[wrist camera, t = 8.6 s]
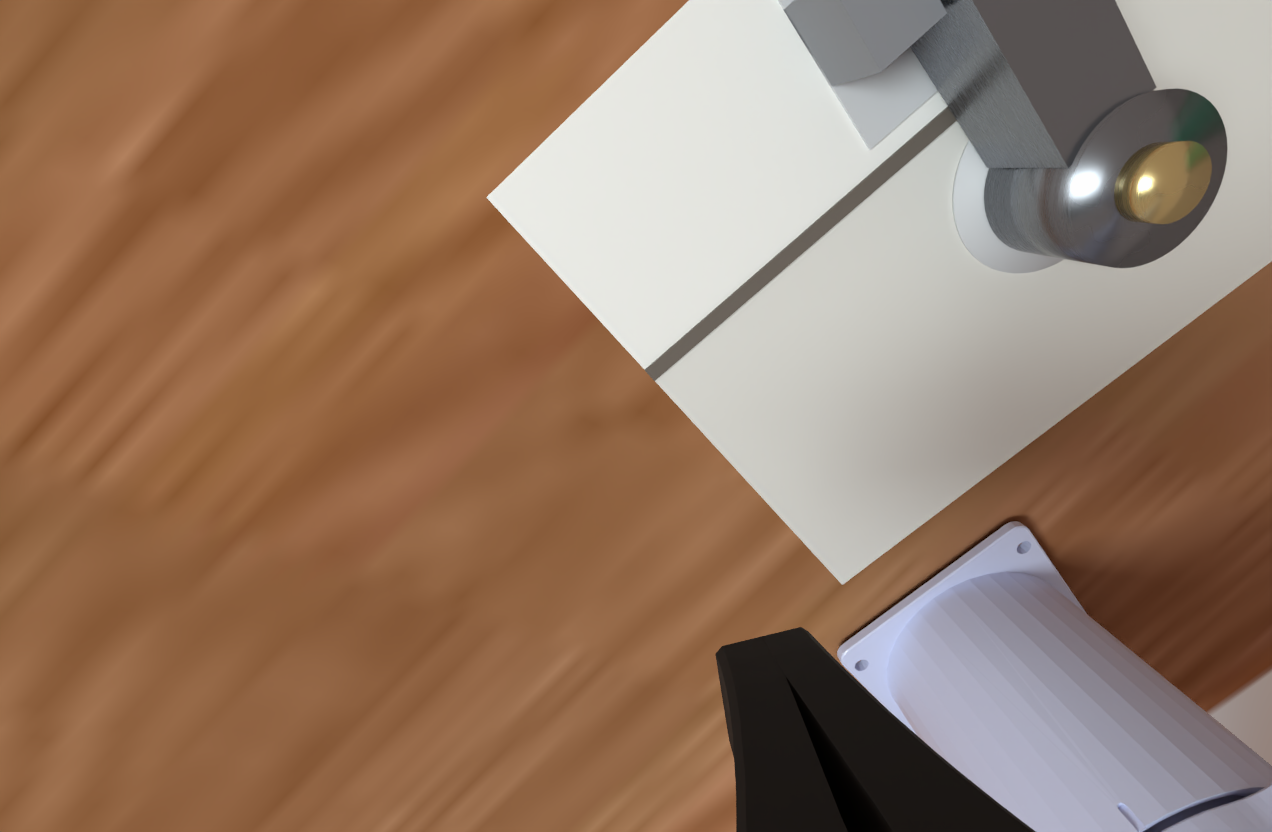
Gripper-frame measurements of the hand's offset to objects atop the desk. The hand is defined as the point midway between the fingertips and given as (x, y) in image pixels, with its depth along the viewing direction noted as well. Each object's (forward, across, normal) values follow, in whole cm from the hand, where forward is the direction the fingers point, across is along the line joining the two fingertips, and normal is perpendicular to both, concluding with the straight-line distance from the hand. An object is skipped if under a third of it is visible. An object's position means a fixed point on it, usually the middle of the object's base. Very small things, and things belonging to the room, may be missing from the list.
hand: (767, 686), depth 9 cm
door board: (+10, -11, -6) cm, 16 cm away
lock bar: (+8, -9, -8) cm, 15 cm away
